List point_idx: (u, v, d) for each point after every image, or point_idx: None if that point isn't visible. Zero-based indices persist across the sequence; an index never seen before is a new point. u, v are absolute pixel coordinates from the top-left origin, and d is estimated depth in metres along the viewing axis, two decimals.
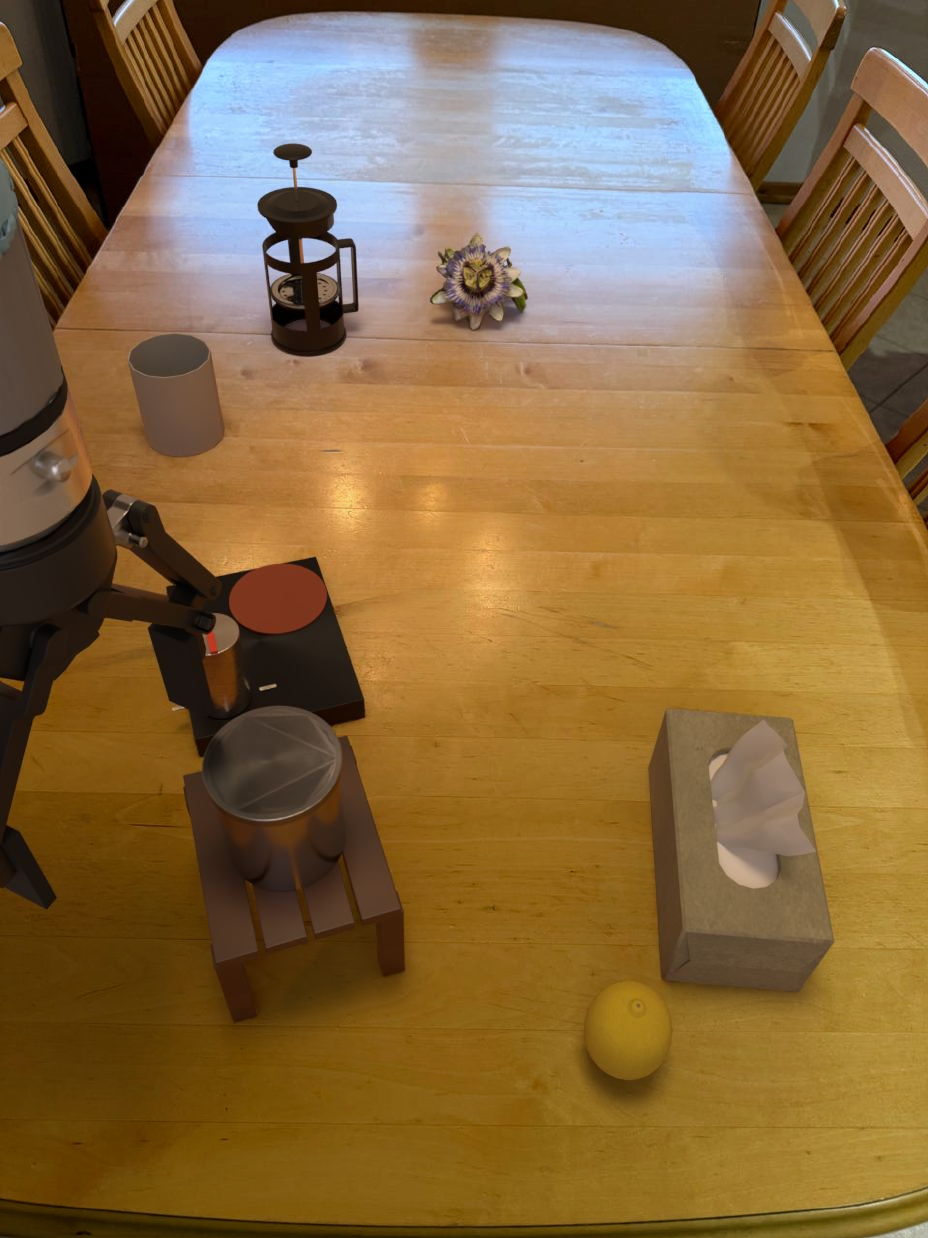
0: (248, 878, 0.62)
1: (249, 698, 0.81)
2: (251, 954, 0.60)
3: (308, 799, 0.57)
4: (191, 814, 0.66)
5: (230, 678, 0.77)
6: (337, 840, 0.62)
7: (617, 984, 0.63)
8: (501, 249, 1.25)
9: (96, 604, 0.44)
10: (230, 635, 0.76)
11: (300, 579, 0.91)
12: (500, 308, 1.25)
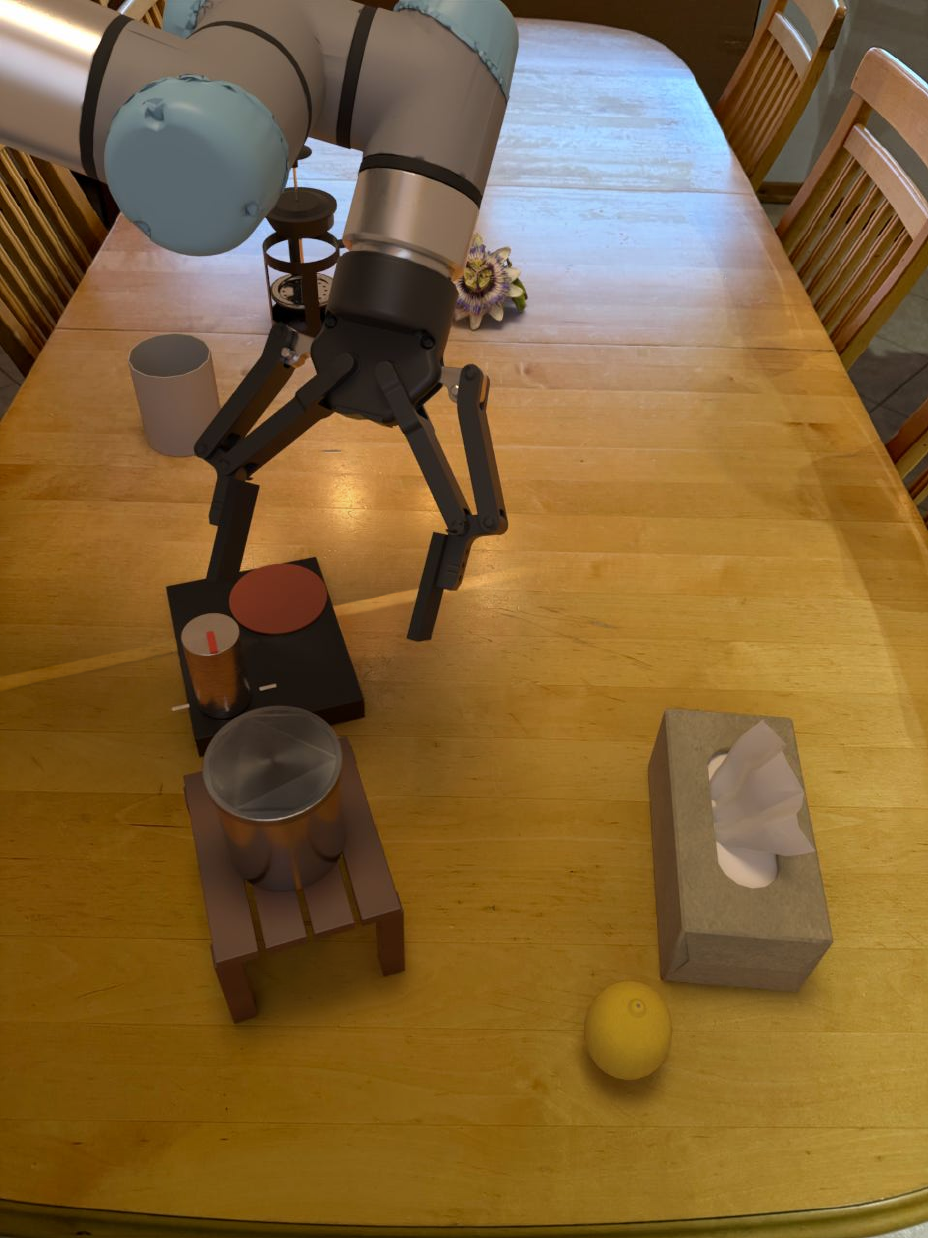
0: (248, 878, 0.62)
1: (249, 698, 0.81)
2: (251, 954, 0.60)
3: (308, 799, 0.57)
4: (191, 814, 0.66)
5: (230, 678, 0.77)
6: (337, 840, 0.62)
7: (617, 984, 0.63)
8: (501, 249, 1.25)
9: None
10: (230, 635, 0.76)
11: (300, 579, 0.91)
12: (500, 308, 1.25)
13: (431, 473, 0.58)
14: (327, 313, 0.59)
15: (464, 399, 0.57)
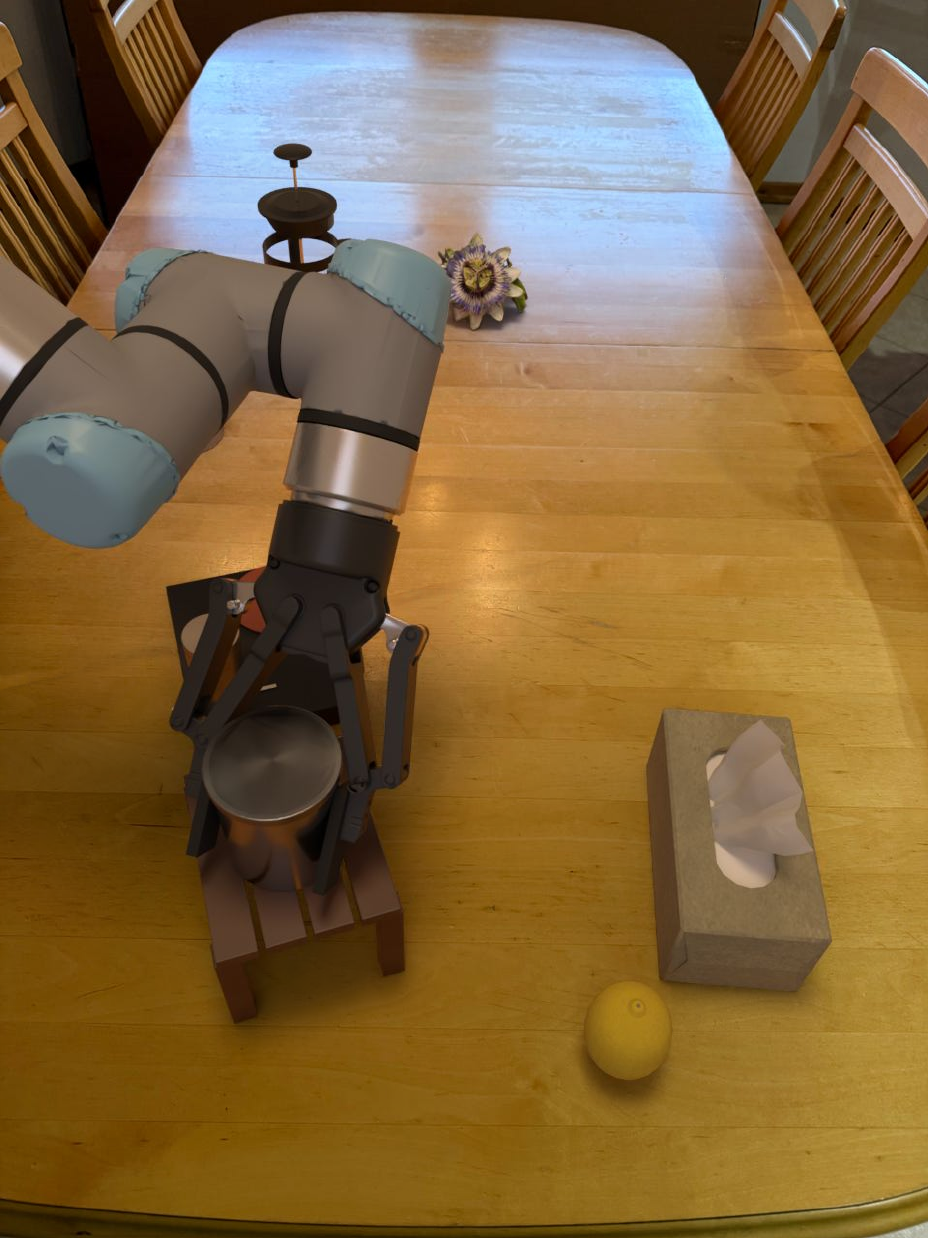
0: (248, 878, 0.62)
1: None
2: (251, 954, 0.60)
3: (308, 799, 0.57)
4: (191, 814, 0.66)
5: (230, 678, 0.77)
6: None
7: (617, 984, 0.63)
8: (501, 249, 1.25)
9: None
10: None
11: None
12: (500, 308, 1.25)
13: (348, 724, 0.59)
14: (270, 555, 0.60)
15: (398, 656, 0.58)
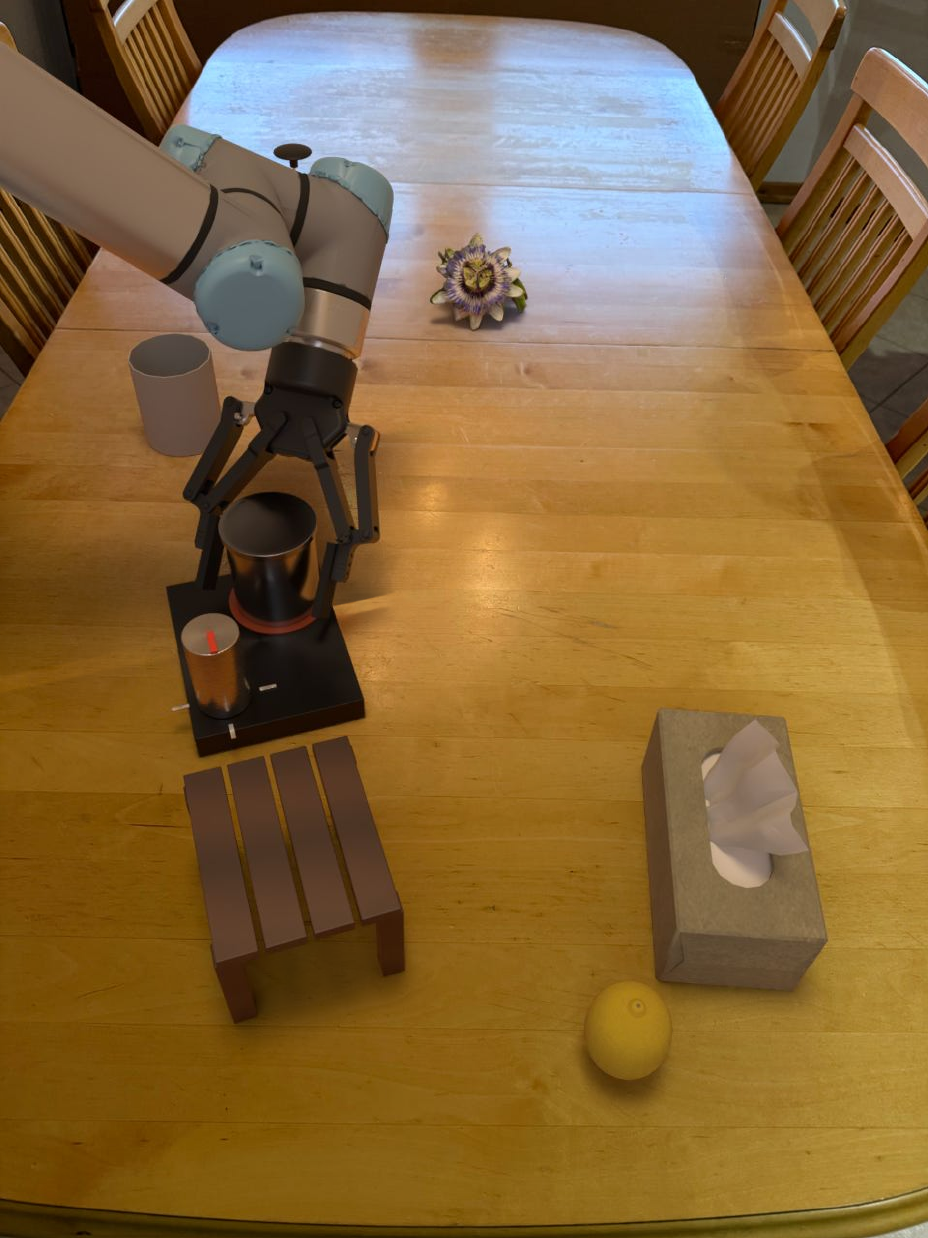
0: (250, 617, 0.87)
1: (249, 698, 0.81)
2: (251, 954, 0.60)
3: (292, 544, 0.81)
4: (191, 814, 0.66)
5: (230, 678, 0.77)
6: (314, 590, 0.87)
7: (617, 984, 0.63)
8: (501, 249, 1.25)
9: None
10: (230, 635, 0.76)
11: None
12: (500, 308, 1.25)
13: (331, 498, 0.84)
14: (265, 383, 0.85)
15: (359, 448, 0.83)
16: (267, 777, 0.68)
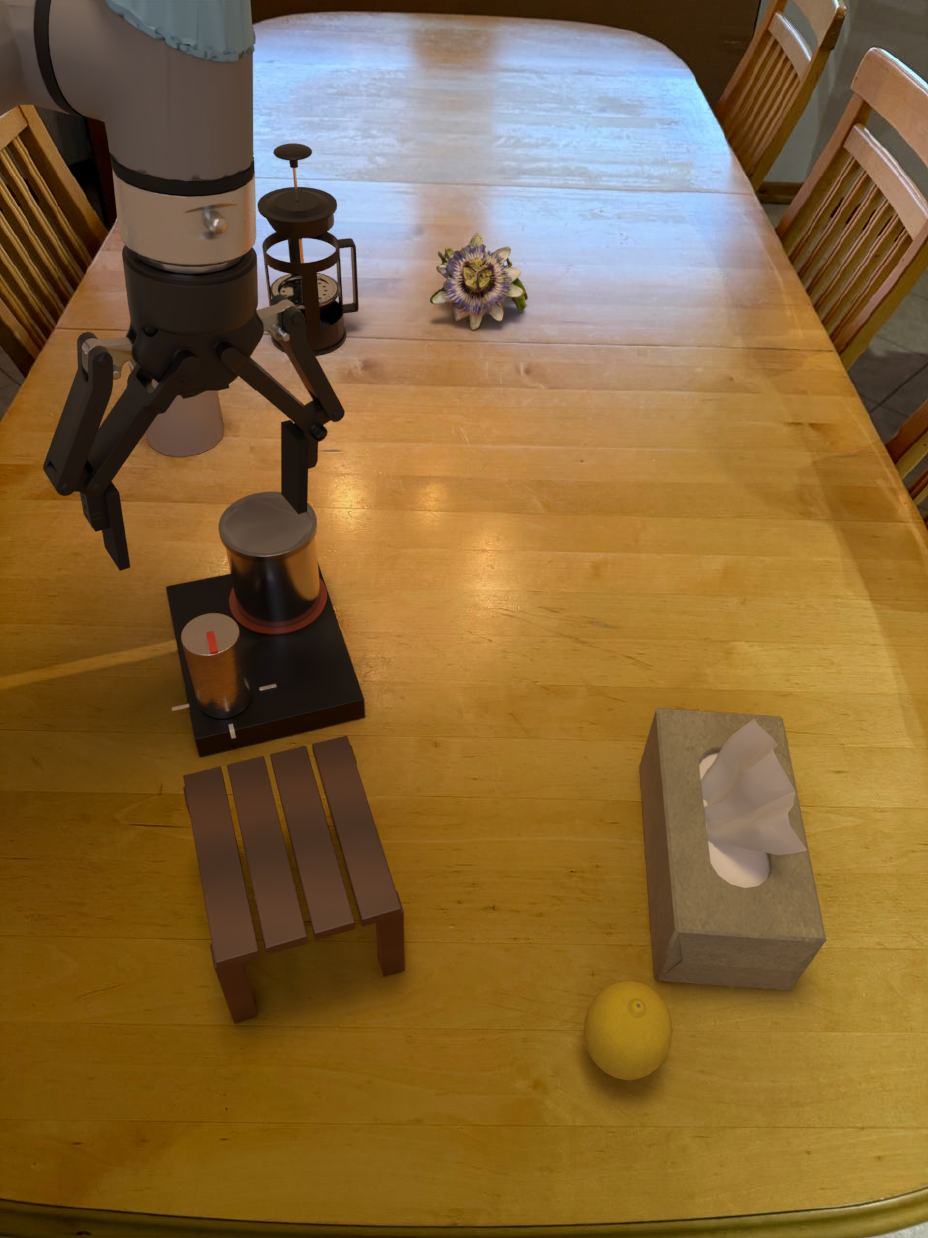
0: (250, 617, 0.87)
1: (249, 698, 0.81)
2: (251, 954, 0.60)
3: (292, 544, 0.81)
4: (191, 814, 0.66)
5: (230, 678, 0.77)
6: (314, 590, 0.87)
7: (617, 984, 0.63)
8: (501, 249, 1.25)
9: (229, 355, 0.60)
10: (230, 635, 0.76)
11: None
12: (500, 308, 1.25)
13: None
14: None
15: None
16: (267, 777, 0.68)
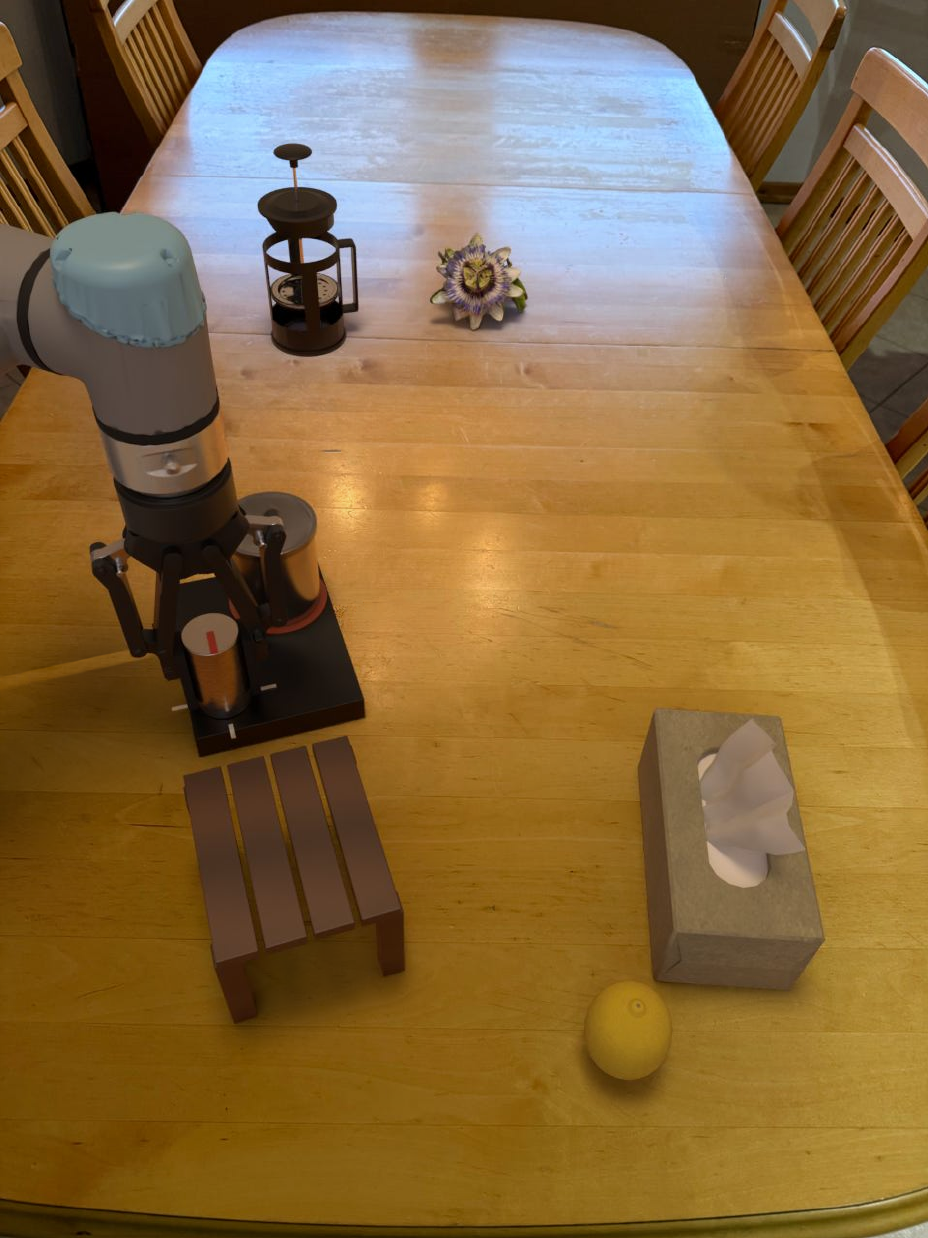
0: None
1: (249, 698, 0.81)
2: (251, 954, 0.60)
3: (292, 544, 0.81)
4: (191, 814, 0.66)
5: (230, 678, 0.77)
6: (314, 590, 0.87)
7: (617, 984, 0.63)
8: (501, 249, 1.25)
9: (209, 552, 0.68)
10: (230, 635, 0.76)
11: None
12: (500, 308, 1.25)
13: None
14: None
15: None
16: (267, 777, 0.68)
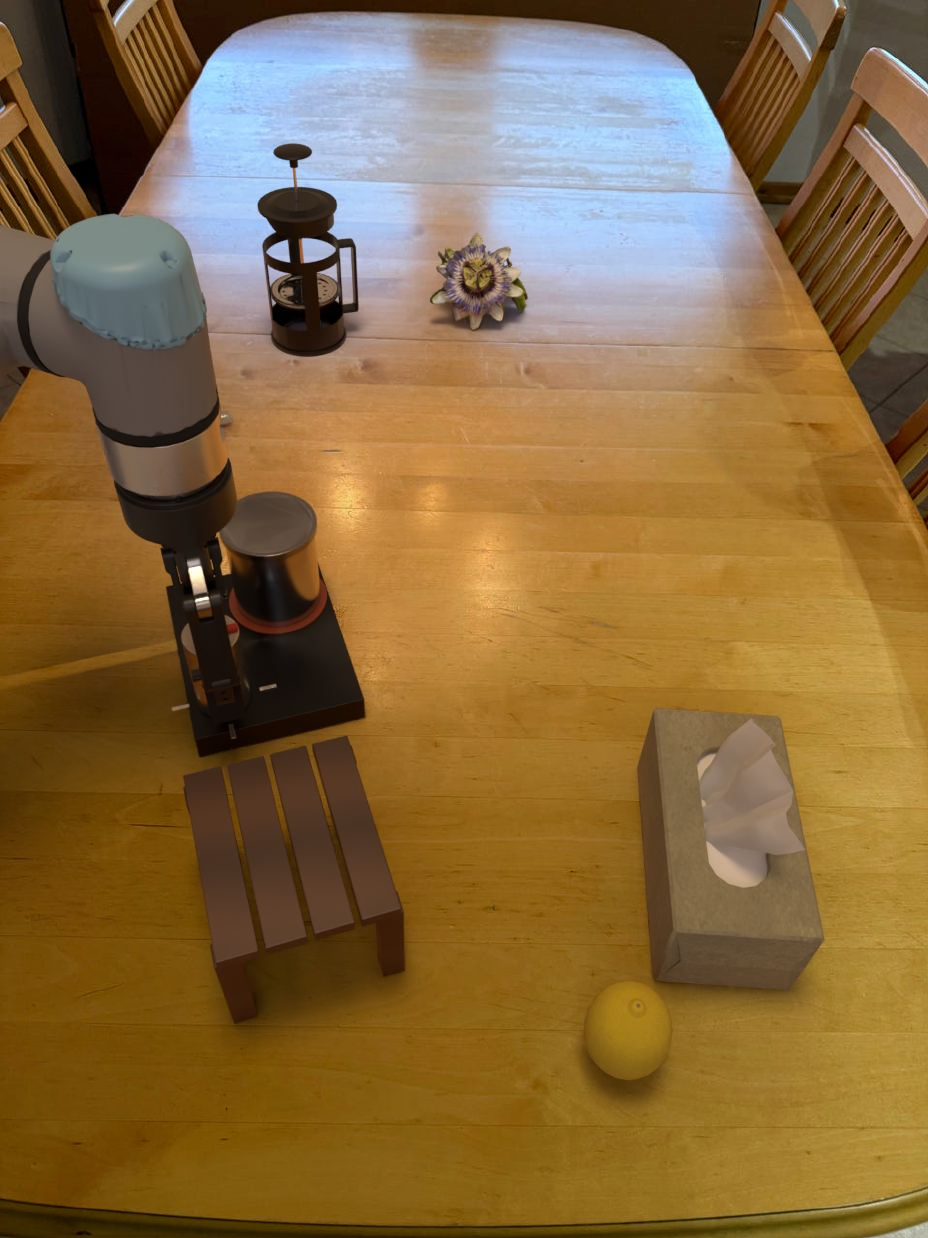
0: (250, 617, 0.87)
1: None
2: (251, 954, 0.60)
3: (292, 544, 0.81)
4: (191, 814, 0.66)
5: None
6: (314, 590, 0.87)
7: (617, 984, 0.63)
8: (501, 249, 1.25)
9: None
10: None
11: None
12: (500, 308, 1.25)
13: None
14: None
15: None
16: (267, 777, 0.68)
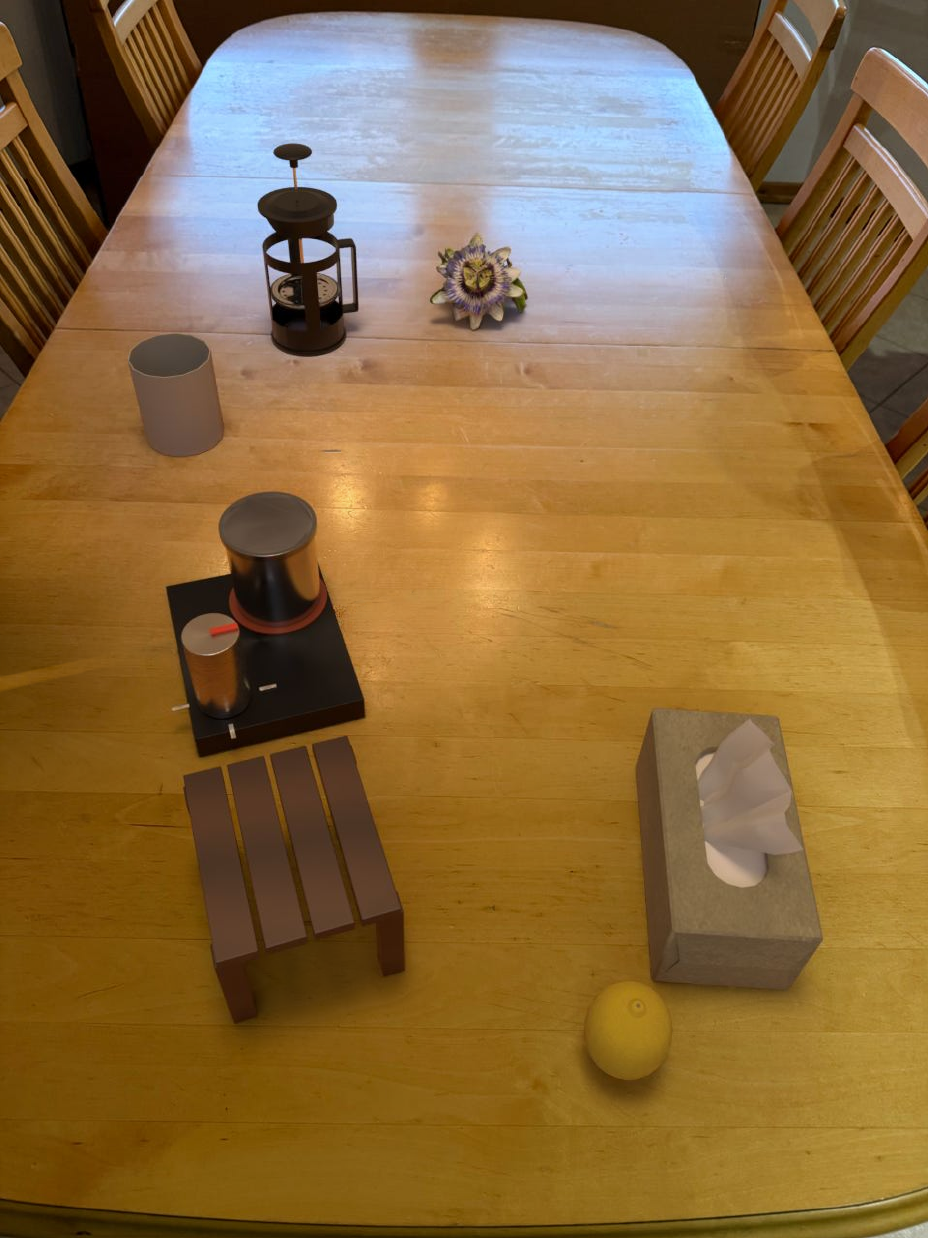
0: (250, 617, 0.87)
1: None
2: (251, 954, 0.60)
3: (292, 544, 0.81)
4: (191, 814, 0.66)
5: None
6: (314, 590, 0.87)
7: (617, 984, 0.63)
8: (501, 249, 1.25)
9: None
10: (215, 618, 0.77)
11: None
12: (500, 308, 1.25)
13: None
14: None
15: None
16: (267, 777, 0.68)
